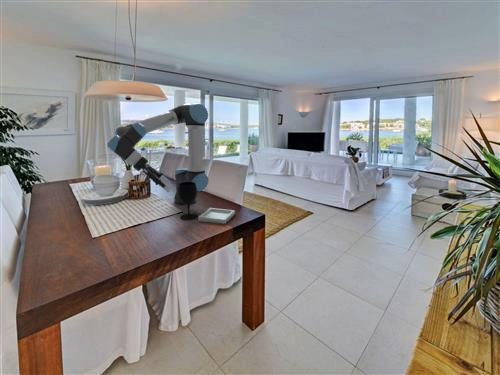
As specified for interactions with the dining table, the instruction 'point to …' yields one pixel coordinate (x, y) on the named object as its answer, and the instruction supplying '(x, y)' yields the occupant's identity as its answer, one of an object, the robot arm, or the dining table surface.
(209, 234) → the dining table surface
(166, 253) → the dining table surface
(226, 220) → the tray
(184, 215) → the wine glass
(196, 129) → the robot arm
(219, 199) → the dining table surface
